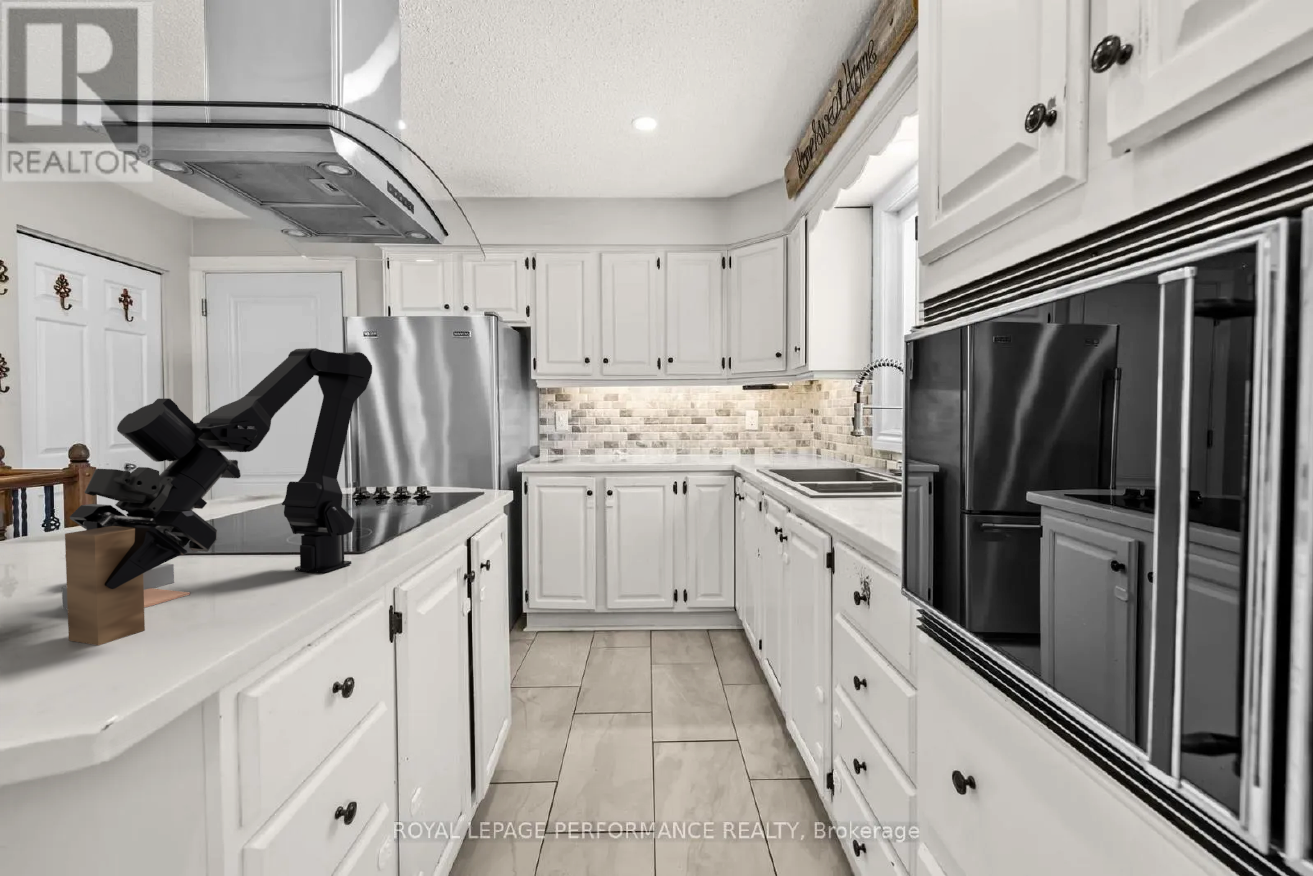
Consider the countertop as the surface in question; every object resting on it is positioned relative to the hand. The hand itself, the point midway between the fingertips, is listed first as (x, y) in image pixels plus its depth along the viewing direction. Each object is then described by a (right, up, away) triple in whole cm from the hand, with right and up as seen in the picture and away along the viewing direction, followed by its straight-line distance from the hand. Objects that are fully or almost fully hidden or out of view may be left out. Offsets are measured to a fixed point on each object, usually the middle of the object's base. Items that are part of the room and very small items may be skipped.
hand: (91, 585), depth 71 cm
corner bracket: (-8, -6, +16) cm, 19 cm away
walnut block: (0, -7, +2) cm, 7 cm away
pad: (-7, -6, +15) cm, 18 cm away
